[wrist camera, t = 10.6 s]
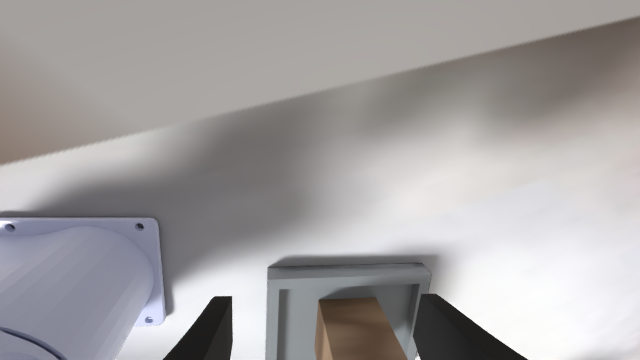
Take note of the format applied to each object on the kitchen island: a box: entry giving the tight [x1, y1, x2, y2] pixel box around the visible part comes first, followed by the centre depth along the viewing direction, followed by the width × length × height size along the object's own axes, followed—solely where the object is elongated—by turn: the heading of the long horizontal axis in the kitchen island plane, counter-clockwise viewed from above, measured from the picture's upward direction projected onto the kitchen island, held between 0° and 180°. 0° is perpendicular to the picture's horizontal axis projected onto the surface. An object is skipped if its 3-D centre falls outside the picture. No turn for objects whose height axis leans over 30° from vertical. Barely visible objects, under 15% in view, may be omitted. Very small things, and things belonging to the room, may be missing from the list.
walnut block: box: [314, 297, 408, 360], centre depth 21 cm, size 4×4×6 cm
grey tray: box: [265, 263, 432, 360], centre depth 24 cm, size 12×10×2 cm
